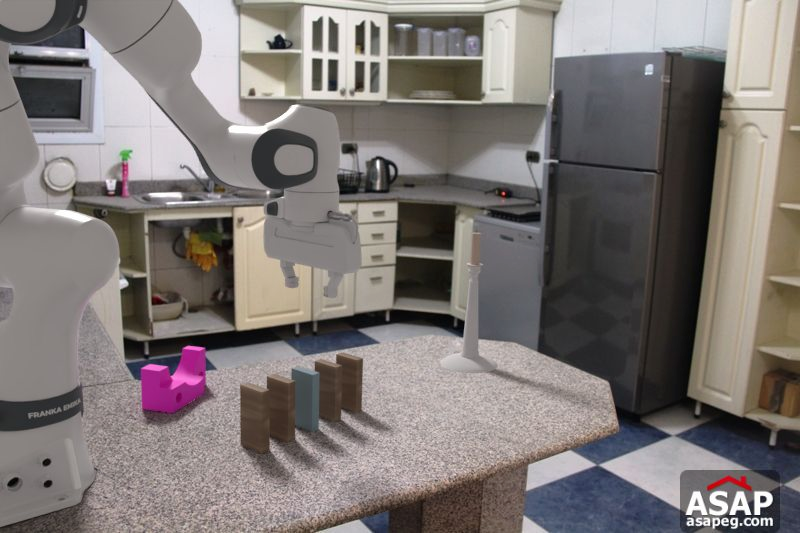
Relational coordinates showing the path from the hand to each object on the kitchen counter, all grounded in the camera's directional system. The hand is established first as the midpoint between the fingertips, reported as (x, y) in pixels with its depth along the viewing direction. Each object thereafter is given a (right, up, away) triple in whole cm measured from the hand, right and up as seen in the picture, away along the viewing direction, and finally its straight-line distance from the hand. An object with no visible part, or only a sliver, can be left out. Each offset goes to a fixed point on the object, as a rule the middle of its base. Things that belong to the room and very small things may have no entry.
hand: (310, 292), depth 119 cm
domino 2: (-5, -24, -1) cm, 24 cm away
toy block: (-26, -20, +16) cm, 37 cm away
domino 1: (-8, -24, -5) cm, 26 cm away
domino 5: (+5, -22, +12) cm, 25 cm away
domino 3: (-1, -23, +4) cm, 23 cm away
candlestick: (+30, -18, +39) cm, 52 cm away
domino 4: (+2, -22, +8) cm, 24 cm away
